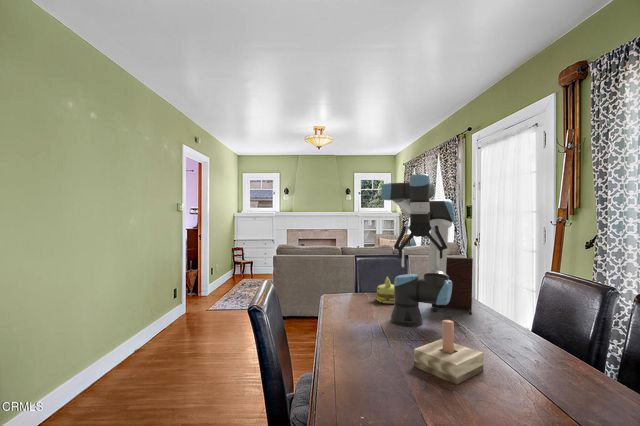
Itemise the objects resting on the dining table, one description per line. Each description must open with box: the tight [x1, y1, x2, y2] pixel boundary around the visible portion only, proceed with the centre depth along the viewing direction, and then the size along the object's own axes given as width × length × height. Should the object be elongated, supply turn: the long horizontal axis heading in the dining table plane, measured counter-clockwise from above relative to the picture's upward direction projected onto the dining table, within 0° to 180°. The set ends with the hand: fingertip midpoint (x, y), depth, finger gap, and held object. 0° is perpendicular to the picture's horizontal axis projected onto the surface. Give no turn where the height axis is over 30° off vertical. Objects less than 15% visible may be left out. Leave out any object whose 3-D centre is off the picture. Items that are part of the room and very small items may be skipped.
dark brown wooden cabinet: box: [431, 256, 474, 316], centre depth 187 cm, size 21×11×30 cm, turn 71°
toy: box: [375, 276, 394, 304], centre depth 208 cm, size 16×15×15 cm
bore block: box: [413, 338, 484, 385], centre depth 115 cm, size 16×16×6 cm
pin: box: [441, 319, 455, 355], centre depth 115 cm, size 4×4×14 cm
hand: (420, 266), depth 134 cm, fingers open, 13 cm apart
